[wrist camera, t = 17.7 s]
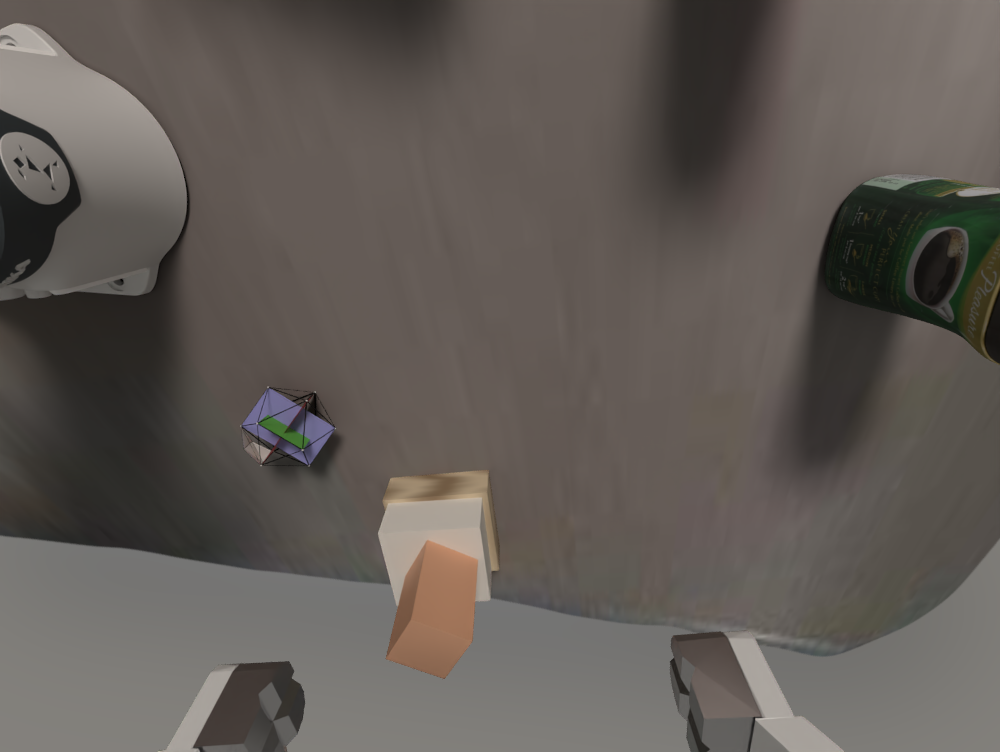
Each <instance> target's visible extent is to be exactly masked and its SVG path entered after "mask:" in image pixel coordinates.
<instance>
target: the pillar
mask: <svg viewBox="0 0 1000 752" xmlns="http://www.w3.org/2000/svg"><path fill="white" fill-rule="evenodd" d="M477 568H478V559H475V558H473V557H470V556H467V555H465V554H462V553H460V552H457V551H455V550H452V549H450V548H447V547H445V546H442V545H440V544H437V543H435V542H432V541H430V540H427V541H426V543H425V544H424V546H423V548H422V549H421V551H420V553H419V554H418V556H417V558H416V559H415V561H414V562H413V564H412V566H411V567H410V569H409V571H408V572H407V574H406V576H405V579H404V583H403V588H402V592H401V596H400V600H399V605H398V609H397V614H396V618H395V622H394V626H393V630H392V634H391V639H390V643H389V647H388V651H387V655H386V659H387V660H390V661H393V662H396V663H399V664H402V665H405V666H408V667H411V668H414V669H417V670H420V671H423V672H425V673H429V674H432V675H434V676H437V677H440V678H443V679H445V678H446V676H447V675H448V674H449V672H450V671H451V670H452V668H453V667H454V665H455V664H456V663H457V661H458V660H459V659H460V658H461V656H462V655H463V654H464V652H465V651H466V650H467V648H468V647H469V645H470V644H471V643H472V641H473V626H474V612H475V598H476V583H477Z"/></svg>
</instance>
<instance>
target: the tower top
mask: <svg viewBox="0 0 1000 752" xmlns="http://www.w3.org/2000/svg"><path fill="white" fill-rule="evenodd" d="M378 536H379V539H380V543H381V547H382V551H383V555H384V559H385V563H386V567H387V570H388V574H389V578H390V582H391V586H392V590H393V593H394V597H395V601H396V605H397V606H398V605H399V600H400V596H401V592H402V588H403V583H404V579H405V576H406V574H407V572H408V571H409V569H410V567H411V566H412V564H413V562H414V561H415V559H416V558H417V556H418V554H419V553H420V551H421V549H422V548H423V546H424V544H425V543H426V541H427V540H430V541H432V542H435V543H437V544H440V545H442V546H445V547H447V548H450V549H452V550H455V551H457V552H460V553H462V554H465V555H467V556H470V557H473V558H475V559H478V568H477V583H476V598H475V602H476V601H490V598H491V571H492V567H491V559H490V552H489V545H488V537H487V530H486V523H485V515H484V508H483V501H482V497H480V498H465V499H450V500H434V501H419V502H404V503H388V505H387V508H386V511H385V514H384V517H383V520H382V523H381V526H380V529H379V532H378Z"/></svg>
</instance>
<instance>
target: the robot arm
mask: <svg viewBox="0 0 1000 752" xmlns="http://www.w3.org/2000/svg"><path fill="white" fill-rule="evenodd" d="M186 210H187V192H186V184H185V179H184V175H183V171H182V168H181V165H180V162H179V159H178V157H177V154H176V152H175V150H174V148H173V146H172V144H171V142H170V140H169V138H168V137H167V135H166V133H165V132H164V130H163V129H162V127H161V126H160V124H159V123H158V122H157V121H156V119H155V118H154V117H153V116H152V114H151V113H150V112H149V111H148V110H147V109H146V108H145V107H144V106H143V105H142V103H140V102H139V101H138V100H137V99H136V98H135V97H134V96H133V95H132V94H130V93H129V92H128V91H127V90H125V89H124V88H123V87H121V86H120V85H118V84H117V83H115V82H114V81H112V80H111V79H109V78H107V77H105V76H103V75H101V74H99V73H97V72H95V71H93V70H91V69H89V68H87V67H85V66H84V65H82V64H80V63H79V62H77V61H76V60H74V59H73V58H72V57H71V56H70V55H69V54H68V53H67V52H66V51H65V50H64V49H63V48H62V47H61V46H60V45H59V44H58V43H57V42H56V41H55V40H54V39H52V38H51V37H50V36H49V35H48V34H47V33H45V32H44V31H43V30H41V29H40V28H38V27H36V26H33V25H27V24H19V23H16V24H11V25H9V26H7V27H5V28H3V29H1V30H0V300H9V299H15V298H19V297H23V296H25V295H26V296H27V297H28V298H44V297H48V296H51V295H52V294H54V295H62V294H67V293H71V292H75V291H79V292H92V293H105V294H118V295H132V296H137V295H142V294H146V293H149V292H151V291H152V289H153V288H154V285H155V283H156V279H157V274H158V268H159V263H160V262H161V260H162V258H163V257H164V256H165V254H166V253H167V252H168V251H169V250H170V249H171V247H172V246H173V245H174V244H175V242H176V241H177V239H178V237H179V235H180V233H181V231H182V228H183V225H184V221H185V217H186ZM120 279H123V281H124V283H123V282H121V280H120ZM671 649H672V652H673V656H674V658H673V659H672V660H671V661H670V675H671V683H672V689H673V693H674V697H675V701H676V705H677V708H678V711H679V713H680V714H681V716H682V717H684V719H686V721H687V737H686V738H687V741H688V744H689V748H690V751H691V752H845V751H843V750H842V749H841V748H840V747H839V746H837V745H836V744H835V743H834V742H832V741H831V740H830V739H829V738H828V737H827V736H826V735H824V734H823V733H822V732H821V731H820V730H819V729H817V728H816V727H815V726H814V725H813V724H811V723H810V722H809V721H808V720H807V719H806V718H804V717H803V716H794V715H793V713H792V711H791V709H790V707H789V705H788V703H787V701H786V699H785V697H784V695H783V693H782V691H781V689H780V687H779V685H778V683H777V681H776V679H775V677H774V675H773V673H772V671H771V669H770V667H769V665H768V664H767V662H766V660H765V658H764V656H763V654H762V652H761V650H760V648H759V646H758V644H757V642H756V640H755V638H754V636H753V635H752V634H751V633H750V632H749V631H746V630H744V631H732V632H709V633H697V634H687V635H674V636H673V637H672V639H671ZM293 673H294V670H293V668H292V666H291V664H290V662H289V661H285V662H266V663H246V664H243V663H240V664H227V665H226V664H225V665H218V666H217V667H216V668H215V669H213V670H212V672H211V673H210V674H209V675H208V677H207V679H206V681H205V682H204V684H203V686H202V688H201V689H200V691H199V693H198V695H197V696H196V698H195V700H194V701H193V703H192V705H191V707H190V708H189V710H188V712H187V714H186V715H185V717H184V719H183V721H182V722H181V724H180V726H179V728H178V729H177V731H176V733H175V735H174V736H173V738H172V740H171V741H170V743H169V745H168V747H167V749H166V750H159V751H157V752H287V748H286V746H287V745H288V744H289V742H290V741H291V740H292V739H293V738H294V737H295V736H296V735H297V734H298V731H299V728H300V725H301V722H302V720H303V714H304V707H305V698H304V691H303V689H302V686H301V685H300V684H299V683H298V682H296V681H295V680H293V679H292V675H293Z"/></svg>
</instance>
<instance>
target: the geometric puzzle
mask: <svg viewBox="0 0 1000 752" xmlns="http://www.w3.org/2000/svg"><path fill="white" fill-rule="evenodd" d="M272 389H273V388H271V387H267V390H266V391H265V393H264V394H263V395H262V397H261V398H260V400H259V401H258V403H257V404H256V405H255V407H254V408H253V410H252V411H251V412H250V414H249V415H248V417H247V418H246V420H245V421H244V422H243V424H242V425H240V427H241V432H242V440H243V448H244V450H245V451H246V452H247V453H248V454H249V455H250V456H251V457H252V458H253V459H255V460H256V461H257V462H258V463H259V464H260V466H305V465H264V462H265V461H266V460H267V459H268V457H269V456H270V455H271V454H272V453H273V452H275V451H276V450H278V449H281V450H283V451H285V452H286V453H288V454H289V455H292V456H293V457H295V458H297V459H299V460H300V461H302V462H301V463H303V462H304V463H303V464H306V465H308V466H310V464H311V463H312V461H313V460H314V458H315V457H316V456H317V454H318V453H319V451H320V450H321V448H322V447H323V446H324V444H325V443H326V441H327V440H328V439H329V437H330V436H331V434H332V433H333V431H334V430H335V429H336V428H335V426H333V425H334V424H333V425H332V424H331V423H330V422H329V421H328V420H327V419H326V418H325V417H324V416H323V415H322V414H320V413H319V412H318V411H317V410H316V396H317V395H316V396H315V394H316V392H314V393H311V394H312V395H311V394H309V395H311V396H310V397H309V398H308V399H307V400H305V401H304V402H305V404H304V405H303V406H302V407H300V406H298V405H299V404H302V403H304V402H301V403H299V404H295V403H294V402H293V401H296V400H298V399H301V398H304V397H306V396H309V395H306V396H303V397H301V398H298V397H296V396H293V395H290V394H288V395H290V396H293V397H296V398H298V399H296V400H293V401H290V400H289V399H287V398H285V397H284V396H282V395H280V394H279V393H277V392H275V391H274V390H276V389H273V390H272ZM277 389H280V388H277ZM286 390H289V389H286ZM276 391H278V390H276ZM295 391H298V390H295ZM279 392H281V391H279ZM305 392H307V391H305ZM282 393H284V392H282ZM285 394H287V393H285ZM313 394H314V398H315V408H314V407H313V406H312V405H311V404H310V403H309V400H310V399H311V397H312V396H313ZM318 399H319V398H318ZM302 400H304V399H302ZM319 401H320V400H319ZM307 403H309V404H310V405H311V406H312V407H313V408H314V409H315V415H313V414H312V413H310V412H308V411H307ZM320 403H321V402H320ZM305 406H306V407H305ZM322 406H323V405H322ZM304 407H305V409H304ZM323 408H324V407H323ZM316 411H317V412H318V413H319V414H320V415H321V416H322V417H324V418H325V419H326V420H327V421H328V422H329V423H330V424H331V425H332V426H331V425H330V424H328V423H326V422H325V421H323V420H321V419H320V418H318V417H317V416H316ZM325 411H326V410H325ZM326 413H327V412H326ZM327 415H328V414H327ZM329 418H330V417H329ZM330 420H331V419H330ZM331 422H332V421H331ZM243 429H245V430H246V429H247V430H248V431H247V430H246V431H247V432H249V431H250V432H252V433H254V434H255V435H257V436H258V438H256V437H255V436H254V435H252V434H251V433H250V432H249V433H250V434H251V435H252V436H254V437H255V438H256V439H258V442H259V441H260V440H259V437H260V438H262V439H264V440H266V441H267V442H269V443H271V444H273V449H270V448H269V447H268V446H267V445H265V444H264V443H263V442H261V441H260V442H261V443H263V444H264V445H265V446H267V447H268V448H269V449H270V450H269V449H267V448H265V447H263V446H261V445H259V444H257V443H255V442H253V441H252V440H251V439H250V438H249V436H248V435H247V434H246V432H245V431H244V430H243ZM276 447H278V449H276V450H275V448H276ZM276 453H278V452H276ZM278 454H280V453H278ZM281 455H283V454H281ZM289 455H287V456H285V455H283V456H284V457H288V456H289ZM281 458H283V457H281ZM281 458H279V459H281ZM288 458H290V457H288ZM291 459H293V458H291ZM276 460H278V459H276ZM293 460H295V459H293ZM273 461H275V460H273ZM273 461H270V462H273ZM296 461H298V460H296ZM300 461H298V462H300ZM270 462H268V463H270ZM265 464H267V463H265Z"/></svg>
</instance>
